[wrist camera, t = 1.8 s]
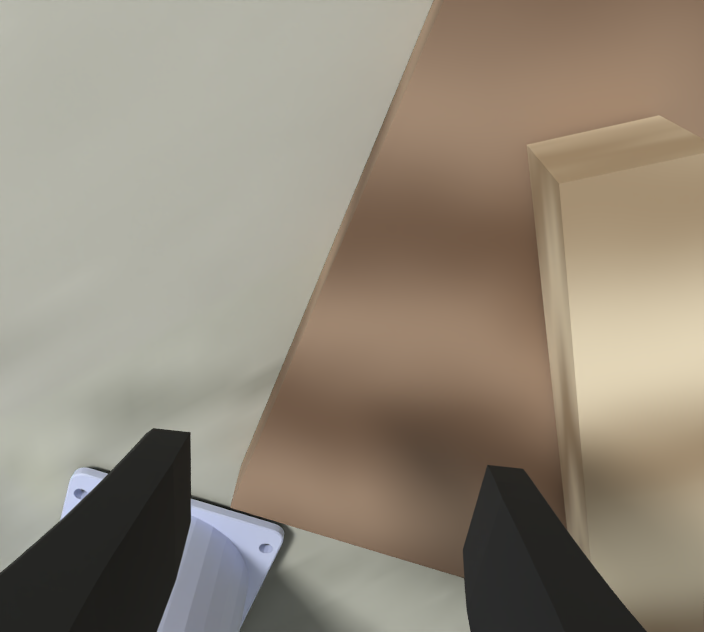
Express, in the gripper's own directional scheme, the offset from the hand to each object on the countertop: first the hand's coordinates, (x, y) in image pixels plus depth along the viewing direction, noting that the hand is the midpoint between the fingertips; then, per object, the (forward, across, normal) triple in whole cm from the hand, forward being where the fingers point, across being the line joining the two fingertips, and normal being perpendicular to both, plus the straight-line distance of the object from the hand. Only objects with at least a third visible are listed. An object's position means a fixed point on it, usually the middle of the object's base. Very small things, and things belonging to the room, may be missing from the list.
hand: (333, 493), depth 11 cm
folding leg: (+7, -8, +3) cm, 11 cm away
